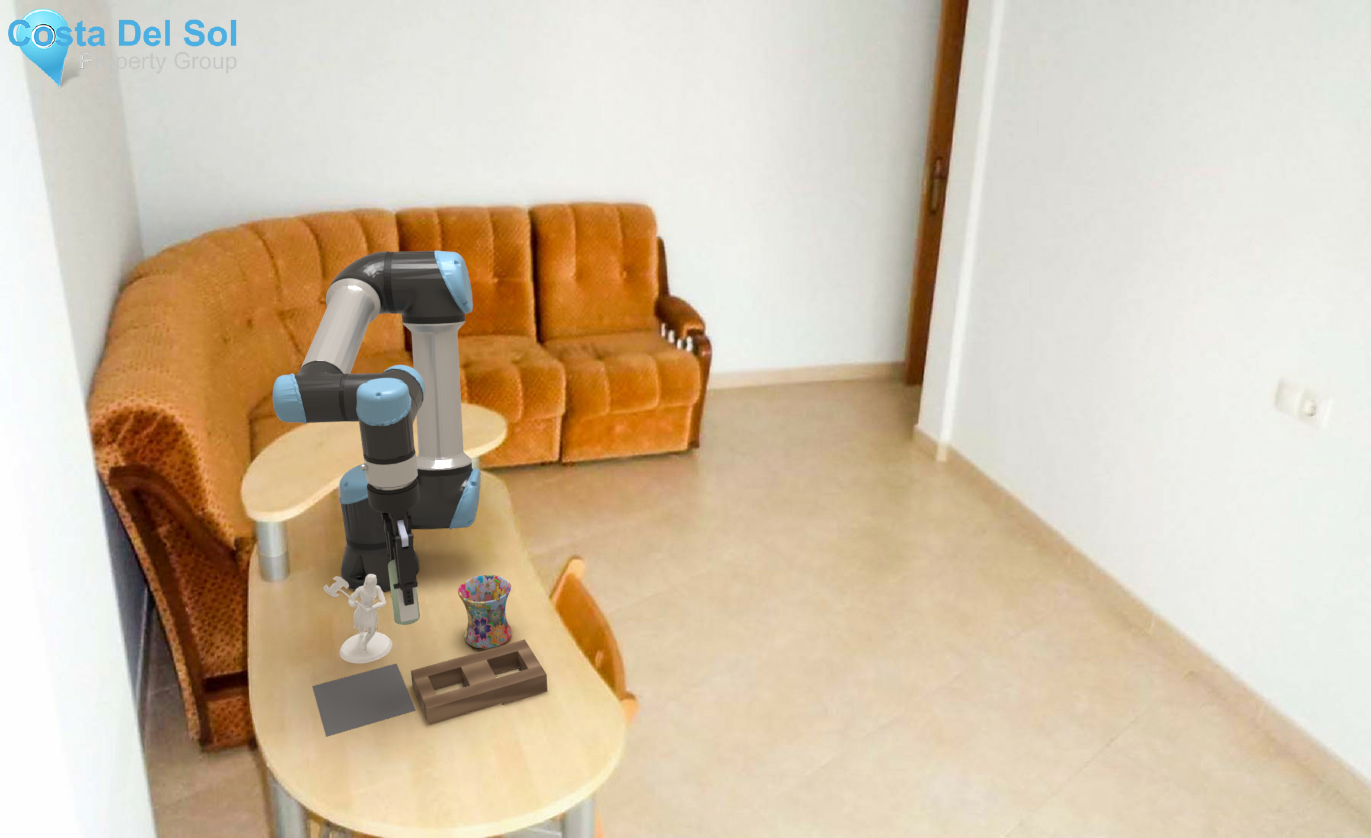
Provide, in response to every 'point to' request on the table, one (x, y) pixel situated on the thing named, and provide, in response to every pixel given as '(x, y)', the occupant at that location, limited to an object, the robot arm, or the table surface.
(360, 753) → the table surface
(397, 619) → the sage peg
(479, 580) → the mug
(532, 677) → the walnut hole block
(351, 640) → the figurine
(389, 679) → the rubber mat
